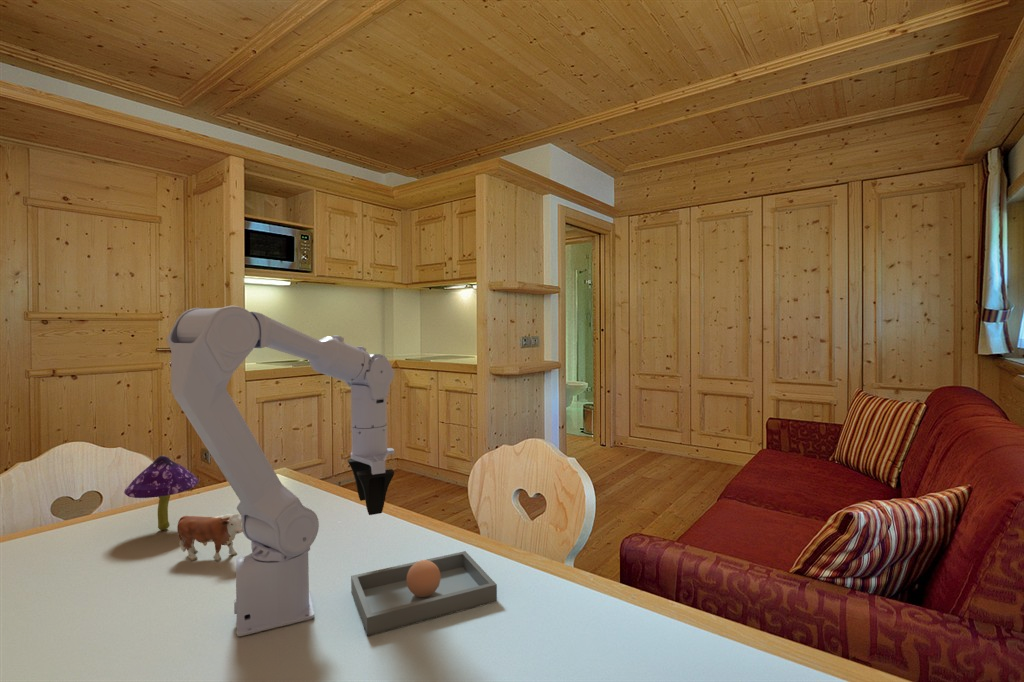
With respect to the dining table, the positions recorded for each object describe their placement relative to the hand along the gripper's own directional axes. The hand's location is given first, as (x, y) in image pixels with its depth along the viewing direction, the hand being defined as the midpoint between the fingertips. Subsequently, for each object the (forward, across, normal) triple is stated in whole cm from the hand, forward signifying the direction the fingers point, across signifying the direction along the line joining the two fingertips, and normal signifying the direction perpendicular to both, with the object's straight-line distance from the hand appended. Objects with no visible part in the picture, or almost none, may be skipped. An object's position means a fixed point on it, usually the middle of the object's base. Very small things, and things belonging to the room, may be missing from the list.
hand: (370, 506), depth 85 cm
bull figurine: (+11, +17, +24) cm, 31 cm away
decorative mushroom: (+11, +36, +34) cm, 51 cm away
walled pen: (+10, -13, -5) cm, 17 cm away
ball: (+8, -13, -5) cm, 16 cm away
